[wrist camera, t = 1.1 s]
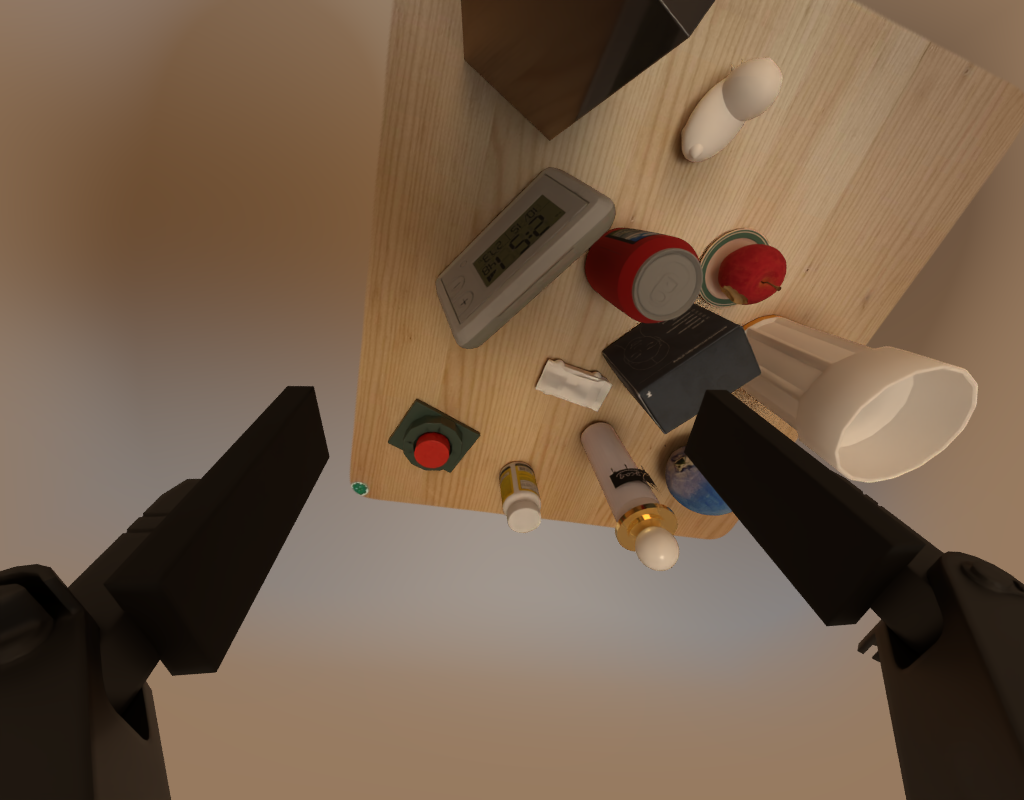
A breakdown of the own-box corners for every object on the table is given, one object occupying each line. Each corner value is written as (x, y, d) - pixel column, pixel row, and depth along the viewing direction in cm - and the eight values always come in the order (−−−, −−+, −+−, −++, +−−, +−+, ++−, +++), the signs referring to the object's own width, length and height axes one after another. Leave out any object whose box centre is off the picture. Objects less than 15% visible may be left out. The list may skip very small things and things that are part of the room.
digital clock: (560, 158, 34) (595, 142, 24) (599, 250, 38) (641, 266, 28) (414, 255, 36) (395, 275, 27) (465, 331, 40) (464, 370, 31)
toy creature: (757, 95, 33) (815, 74, 27) (689, 179, 35) (729, 175, 30) (727, 52, 31) (782, 21, 26) (657, 144, 34) (694, 133, 28)
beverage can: (659, 252, 38) (730, 273, 28) (616, 307, 41) (667, 345, 30) (612, 211, 36) (670, 217, 26) (569, 272, 38) (606, 299, 28)
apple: (751, 307, 42) (795, 324, 36) (685, 305, 41) (719, 322, 36) (779, 230, 38) (833, 235, 33) (707, 226, 38) (749, 231, 32)
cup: (694, 375, 46) (805, 462, 31) (756, 289, 41) (923, 342, 26) (760, 404, 49) (890, 497, 34) (824, 327, 44) (1009, 394, 29)
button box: (388, 439, 46) (384, 451, 44) (416, 398, 44) (413, 408, 41) (450, 469, 49) (449, 482, 47) (480, 432, 47) (480, 444, 45)
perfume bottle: (614, 451, 50) (690, 585, 33) (572, 452, 50) (627, 590, 32) (621, 414, 48) (707, 540, 30) (577, 416, 47) (639, 544, 29)
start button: (410, 450, 44) (407, 459, 43) (427, 426, 43) (425, 434, 42) (439, 464, 46) (437, 473, 44) (456, 441, 45) (455, 450, 43)
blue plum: (708, 466, 39) (771, 521, 46) (694, 406, 45) (753, 462, 51) (637, 488, 45) (702, 535, 51) (633, 432, 51) (692, 480, 57)
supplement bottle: (504, 491, 52) (509, 539, 44) (495, 465, 50) (499, 512, 42) (537, 482, 52) (548, 529, 44) (529, 456, 49) (540, 501, 42)
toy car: (590, 405, 46) (596, 415, 44) (532, 388, 44) (535, 397, 42) (608, 373, 44) (614, 382, 43) (548, 353, 42) (551, 361, 41)
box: (626, 389, 46) (664, 437, 37) (599, 351, 43) (633, 392, 34) (703, 337, 43) (765, 374, 34) (680, 293, 41) (741, 320, 31)
